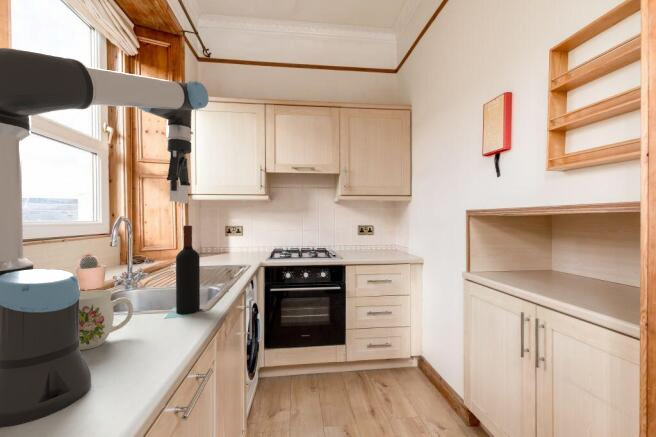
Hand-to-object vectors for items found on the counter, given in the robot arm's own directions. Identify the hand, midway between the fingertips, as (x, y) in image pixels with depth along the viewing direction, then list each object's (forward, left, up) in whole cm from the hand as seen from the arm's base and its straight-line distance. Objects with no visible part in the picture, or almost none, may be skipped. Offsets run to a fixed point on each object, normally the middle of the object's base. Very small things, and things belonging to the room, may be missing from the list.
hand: (179, 202), depth 105 cm
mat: (+1, -2, -38) cm, 38 cm away
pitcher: (-21, +17, -38) cm, 47 cm away
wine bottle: (+1, -2, -38) cm, 38 cm away
